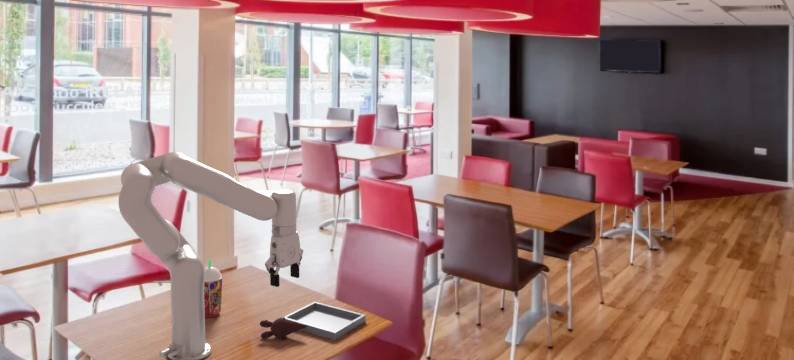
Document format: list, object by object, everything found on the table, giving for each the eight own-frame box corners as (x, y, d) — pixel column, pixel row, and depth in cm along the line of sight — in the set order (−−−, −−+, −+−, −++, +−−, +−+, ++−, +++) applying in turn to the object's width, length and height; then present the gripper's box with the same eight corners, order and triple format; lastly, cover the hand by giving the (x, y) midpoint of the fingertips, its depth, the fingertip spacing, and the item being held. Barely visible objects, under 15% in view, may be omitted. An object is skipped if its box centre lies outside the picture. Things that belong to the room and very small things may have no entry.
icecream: (307, 313, 215) (260, 317, 214) (305, 316, 208) (257, 320, 206) (308, 334, 214) (262, 338, 213) (307, 338, 207) (259, 342, 206)
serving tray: (334, 340, 210) (335, 332, 209) (281, 324, 221) (281, 317, 220) (365, 321, 225) (365, 314, 225) (314, 308, 236) (314, 301, 235)
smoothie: (224, 317, 225) (223, 261, 222) (199, 320, 222) (197, 264, 219) (221, 308, 233) (220, 254, 229) (197, 311, 230) (195, 256, 226)
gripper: (275, 237, 195) (276, 291, 199) (310, 225, 210) (311, 276, 213) (256, 233, 199) (257, 287, 202) (292, 221, 214) (293, 271, 217)
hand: (285, 281), depth 208 cm, fingers open, 9 cm apart
